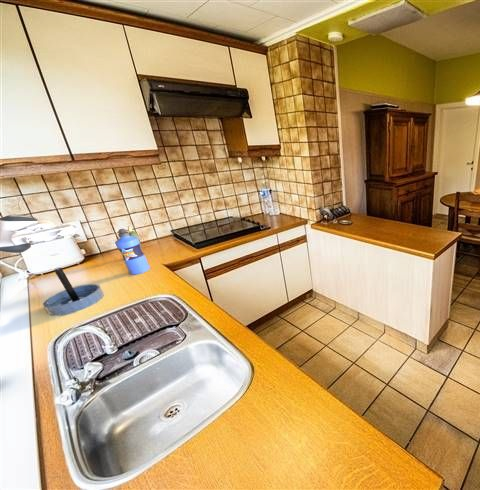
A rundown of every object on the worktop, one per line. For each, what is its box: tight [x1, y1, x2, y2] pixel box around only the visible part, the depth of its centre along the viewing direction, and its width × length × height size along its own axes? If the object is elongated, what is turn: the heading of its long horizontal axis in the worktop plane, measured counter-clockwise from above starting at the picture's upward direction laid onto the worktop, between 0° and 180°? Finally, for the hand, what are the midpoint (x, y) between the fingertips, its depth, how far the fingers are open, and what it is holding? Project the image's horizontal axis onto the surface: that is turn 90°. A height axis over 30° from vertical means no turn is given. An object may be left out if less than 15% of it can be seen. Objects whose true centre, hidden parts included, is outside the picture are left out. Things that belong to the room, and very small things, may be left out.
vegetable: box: [127, 225, 143, 251], centre depth 165 cm, size 4×4×20 cm
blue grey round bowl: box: [42, 283, 105, 317], centre depth 118 cm, size 18×18×6 cm
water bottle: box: [114, 228, 151, 276], centre depth 144 cm, size 9×9×25 cm
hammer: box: [53, 267, 84, 303], centre depth 116 cm, size 6×6×18 cm
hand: (44, 237), depth 123 cm, fingers open, 8 cm apart
